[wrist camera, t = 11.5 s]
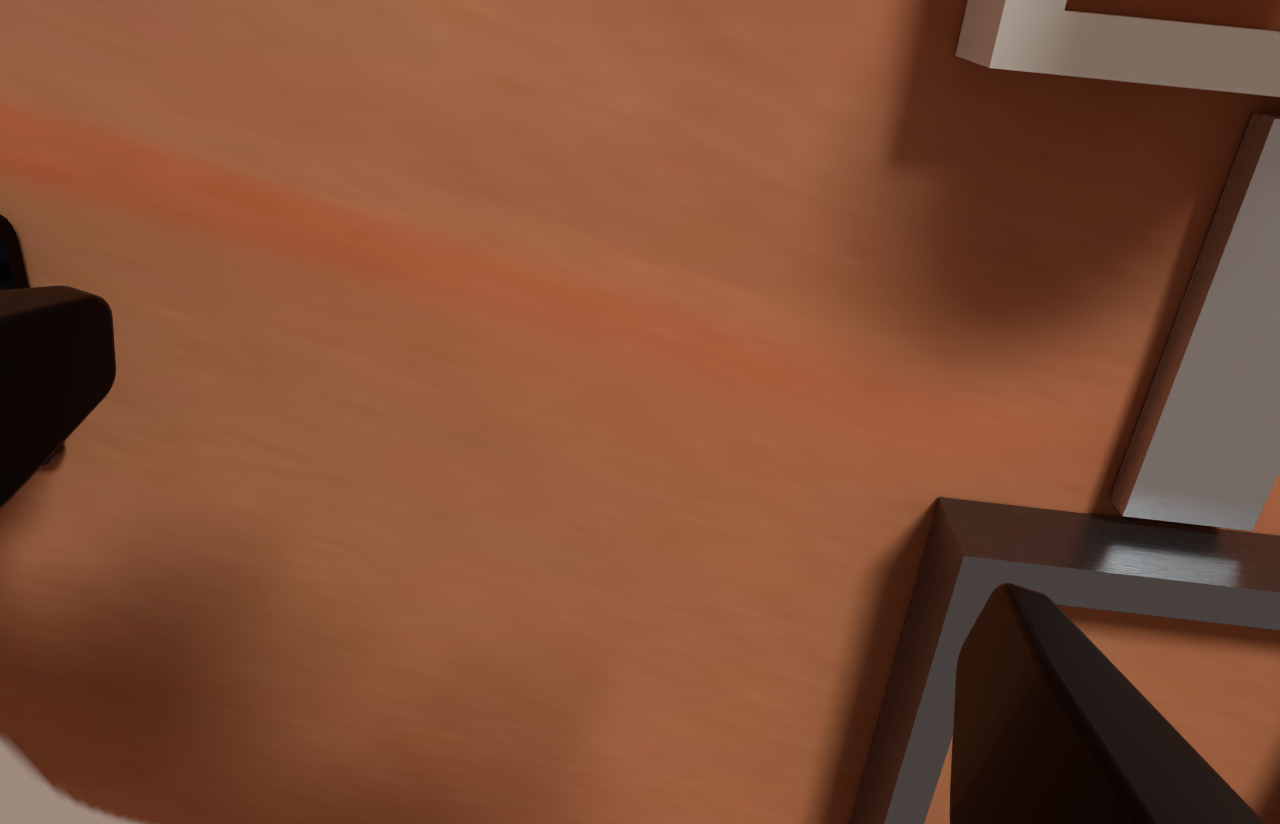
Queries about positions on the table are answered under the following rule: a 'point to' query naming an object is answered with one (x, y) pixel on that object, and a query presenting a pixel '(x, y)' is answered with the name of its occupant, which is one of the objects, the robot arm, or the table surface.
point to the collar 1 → (1119, 47)
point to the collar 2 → (1069, 575)
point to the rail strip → (1219, 365)
